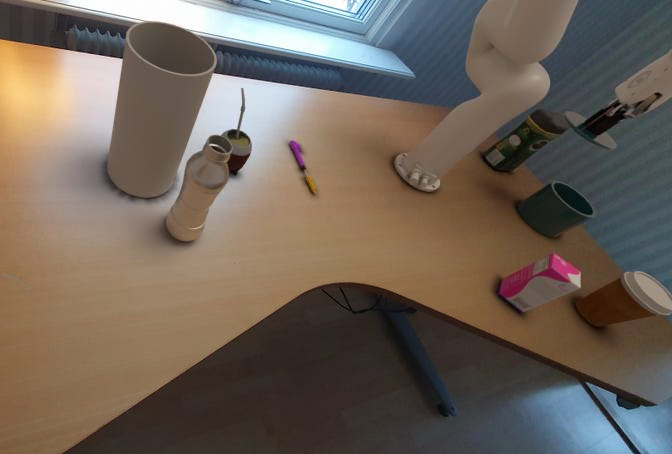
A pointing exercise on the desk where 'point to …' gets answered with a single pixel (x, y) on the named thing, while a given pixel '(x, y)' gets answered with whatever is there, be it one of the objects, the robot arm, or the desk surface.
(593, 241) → the desk surface
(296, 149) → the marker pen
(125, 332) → the desk surface
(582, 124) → the pot lid
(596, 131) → the robot arm
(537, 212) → the pot
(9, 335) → the desk surface
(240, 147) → the mate gourd
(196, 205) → the plastic bottle
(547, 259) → the supplement box
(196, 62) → the cylinder vase
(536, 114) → the coffee jar
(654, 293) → the disposable coffee cup
